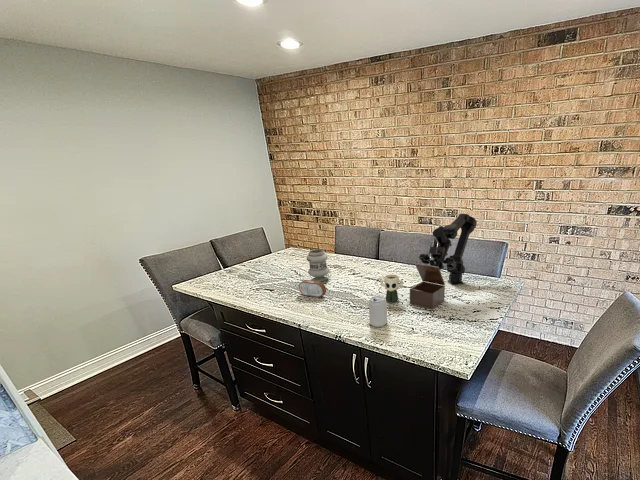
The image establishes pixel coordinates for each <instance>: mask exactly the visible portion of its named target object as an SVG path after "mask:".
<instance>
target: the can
mask: <svg viewBox="0 0 640 480" xmlns="http://www.w3.org/2000/svg"><path fill="white" fill-rule="evenodd" d="M387 311H388V307H387V301H386V297H384V296H381V295H374V296H371V297H370V298H369V301H368V314H369V315H368V316H369V317H368V318H369V324H370V325H371V326H372V327H376V328H379V327H380V328H381V327H384V326H385V325H386V324H387V323H388V312H387Z"/></svg>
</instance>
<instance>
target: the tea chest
mask: <svg viewBox="0 0 640 480" xmlns="http://www.w3.org/2000/svg"><path fill="white" fill-rule="evenodd" d="M445 292H446V285H440V284H435V283H430V282H425V281H421V282H419V283H418V284H415V285H414V286H412V287H411V288H409V304H410V305H414V306H417V307H422V308H427V309H430V310H433V309H435V308H436V307H437V306H439V305H440V304H442V303H443V302H444V301H445Z"/></svg>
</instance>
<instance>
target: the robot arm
mask: <svg viewBox="0 0 640 480" xmlns="http://www.w3.org/2000/svg"><path fill="white" fill-rule="evenodd" d="M454 219H455V220H453V221H452V222H451V223H450V224H446V225H445V226H443V225H439V226H438V227H437V228H435V229H434V230H433V231H432V237H433V238H434V240H435V241H436V243H437V246H430V247H429V251H428V254H427V253H420V254H419V256H418V259H419V260H420V262H421V264H426V265H431V266H437V267H439V269H440V271H441V270H442V269H445V265H446V270H447V273H449V274H448V280H447V282H448V283H450V284H451V285H453V286H454V285H463V284H464V281H463V274H465V271H466V267H465V265H464V260H463V256H464V253H465V250H466V246H467V243H468V240H469V237H470V234H471V233H473V232H474V231H475V228H477V224H478V222H477V219H476V218H475V217H474V216H473V217H472V216H471V215H470V214H469V213H459V214H458V216H457V217H456V218H454ZM459 230H461V232H460V235H459V237H458V231H459ZM456 237H458V241H457V244H456V247H455V250H454V253H453V254H452V255H449V257H447V256H448V254H449V253H448V251H449V249H450V247H452V246H453V245H452V242H451V240H455V239H456ZM429 254H430V256H429Z"/></svg>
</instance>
